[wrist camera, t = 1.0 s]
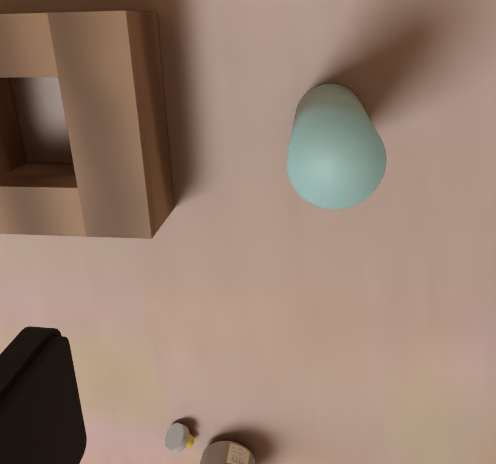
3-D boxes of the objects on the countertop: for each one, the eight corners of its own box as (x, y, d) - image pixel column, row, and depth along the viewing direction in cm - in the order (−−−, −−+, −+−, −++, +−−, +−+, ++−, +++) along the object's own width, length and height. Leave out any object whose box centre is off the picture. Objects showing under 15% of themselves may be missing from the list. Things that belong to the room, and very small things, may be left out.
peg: (365, 83, 27) (391, 113, 18) (360, 151, 29) (381, 210, 20) (295, 83, 28) (287, 113, 19) (294, 150, 30) (286, 208, 20)
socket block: (157, 12, 27) (125, 10, 23) (174, 208, 32) (151, 238, 28) (-66, 18, 29) (-136, 17, 24) (-17, 203, 34) (-68, 231, 29)
